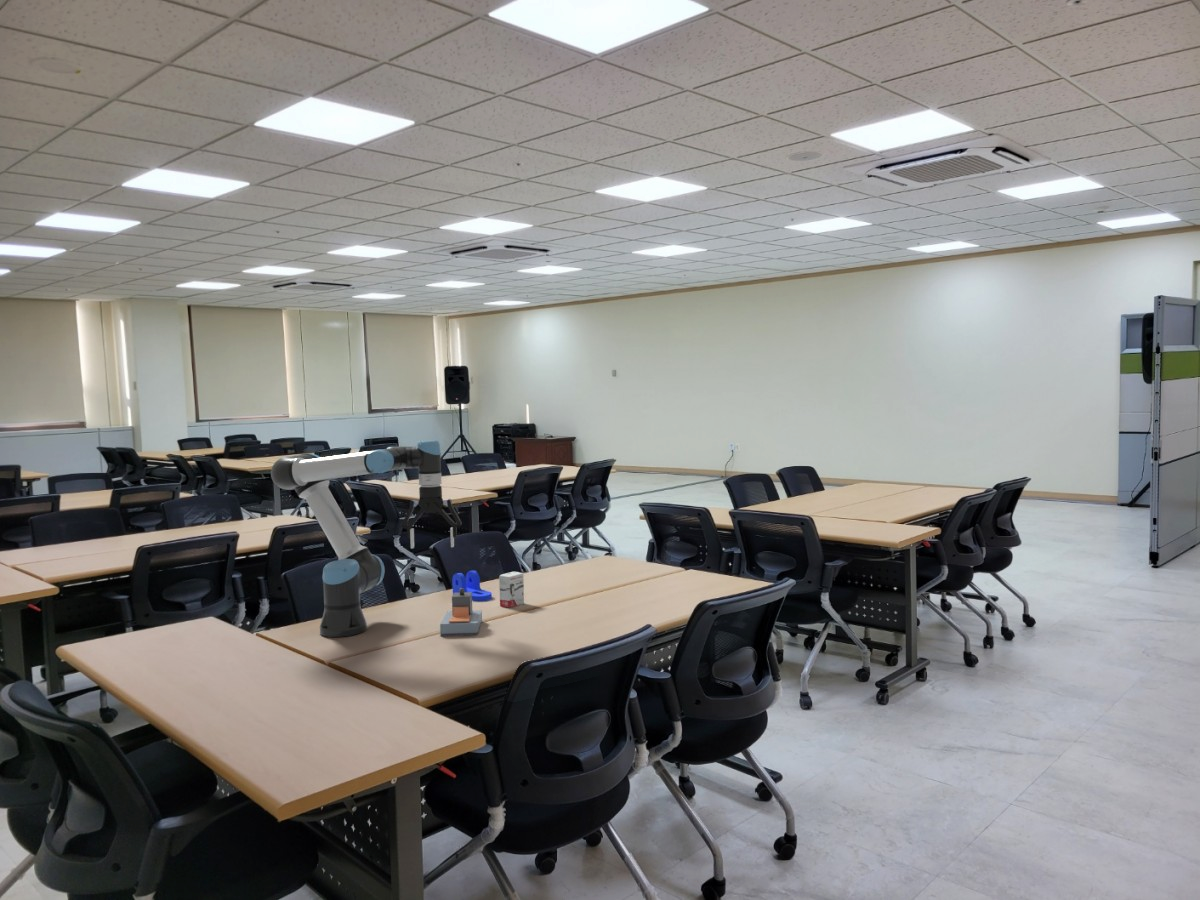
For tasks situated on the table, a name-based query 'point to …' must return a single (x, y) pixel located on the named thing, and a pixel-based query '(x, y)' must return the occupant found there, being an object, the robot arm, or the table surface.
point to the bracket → (470, 586)
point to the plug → (462, 600)
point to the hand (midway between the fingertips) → (432, 547)
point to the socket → (461, 625)
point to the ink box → (511, 589)
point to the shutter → (460, 614)
